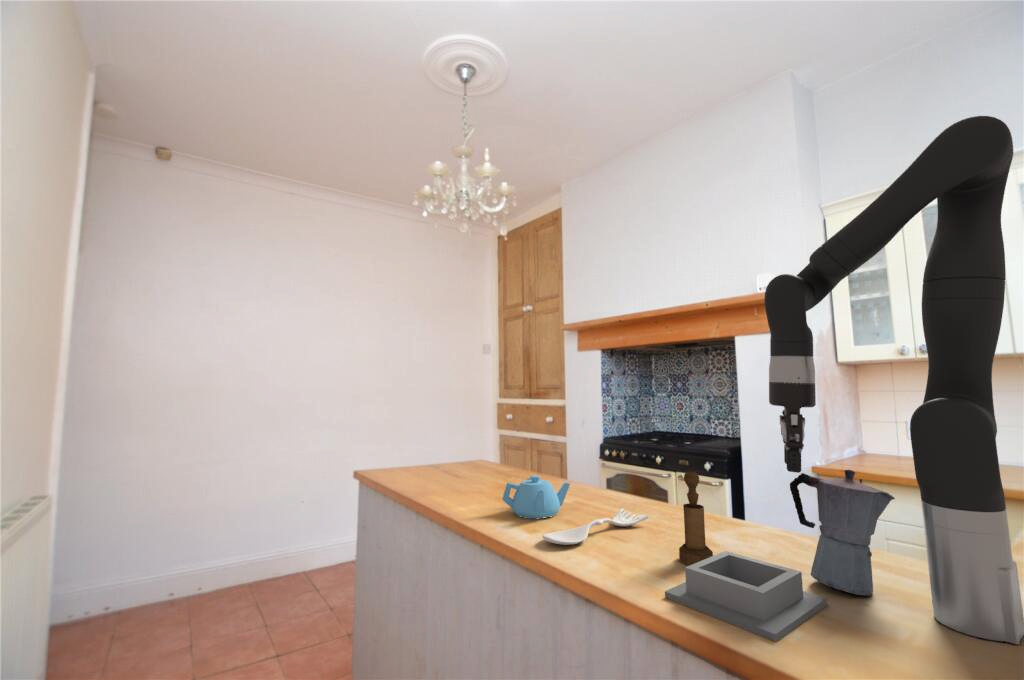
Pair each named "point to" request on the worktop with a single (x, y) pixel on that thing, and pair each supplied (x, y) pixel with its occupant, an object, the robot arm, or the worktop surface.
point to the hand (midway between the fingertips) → (792, 467)
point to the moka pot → (843, 530)
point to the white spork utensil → (582, 532)
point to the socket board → (747, 594)
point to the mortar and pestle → (693, 525)
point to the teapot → (535, 498)
